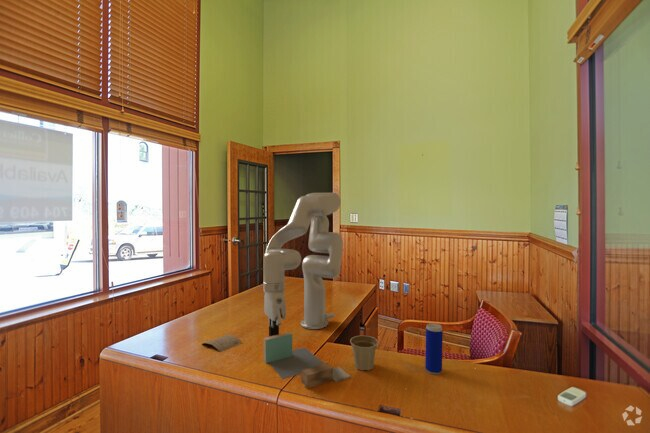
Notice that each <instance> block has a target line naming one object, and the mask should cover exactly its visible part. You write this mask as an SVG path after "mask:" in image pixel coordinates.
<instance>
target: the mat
mask: <svg viewBox="0 0 650 433" xmlns="http://www.w3.org/2000/svg"><path fill="white" fill-rule="evenodd" d="M267 364H269V365H270V366H271V367H272V368H273V370H274V371H275V372H276V373H277V375H279V377H280V378H281V379H282V380H284V379H288V378H290V377H291V378H292V377H294V376H298V375H302V370H305V369H308V368H312V367H315V366H318V365H322V364H325V363H324V362H323V361H322V360H321V359H319V357H317V356H316V355H315V354H313V353H312V352H311V351H310V350H308V349H307V348H306V347H299V348H295V349H292V356H291V357H287V358H283V359H279V360H276V361H272V362H268V363H267Z"/></svg>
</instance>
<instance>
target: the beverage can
mask: <svg viewBox="0 0 650 433" xmlns="http://www.w3.org/2000/svg"><path fill="white" fill-rule="evenodd" d="M443 331H444V330H443V326H442V325H441V324H439V323H436V322H435V323H434V322H431V323H427V324H426V327H425V362H424V367H425V370H426V371H427V372H428V373H430V374H432V375H439V374H441V373H442V371H443V336H444V335H443V334H444V332H443Z"/></svg>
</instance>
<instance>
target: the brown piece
mask: <svg viewBox="0 0 650 433" xmlns="http://www.w3.org/2000/svg"><path fill="white" fill-rule="evenodd" d="M350 378H351V375H350V374H348V373H347V372H346V371H344V370H343V369H342V368H341V367H340V366H337V367H334V368H333V366H331V365H330V364H329V363H327V362H326V363H324V364H322V365H318V366H315V367H312V368H308V369H305V370H302V374H301V383H302V384H303V385H304V386H305V388H306V389H311V388H313V387H317V386H319V385H323V384H326V383H328V382H332V381H333V382H334V383H339V382H341V381H343V380H346V379H350Z"/></svg>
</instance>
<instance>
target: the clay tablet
mask: <svg viewBox="0 0 650 433" xmlns="http://www.w3.org/2000/svg"><path fill="white" fill-rule="evenodd" d="M204 344H208V345H211V346H213V347H214V348H215V349H217V351H218V352H219V353H221V352H225V351H227V350H229V349H232V348H234V347H237V346H240V345H242V344H244V343H243V341H241V339H240V338H238V337H237V336H234V335H232V334H230V333H229V334H225V335H223V336H219V337H217V338H214V339H211V340H209V341H206V342H203V343H202V345H204Z"/></svg>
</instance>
